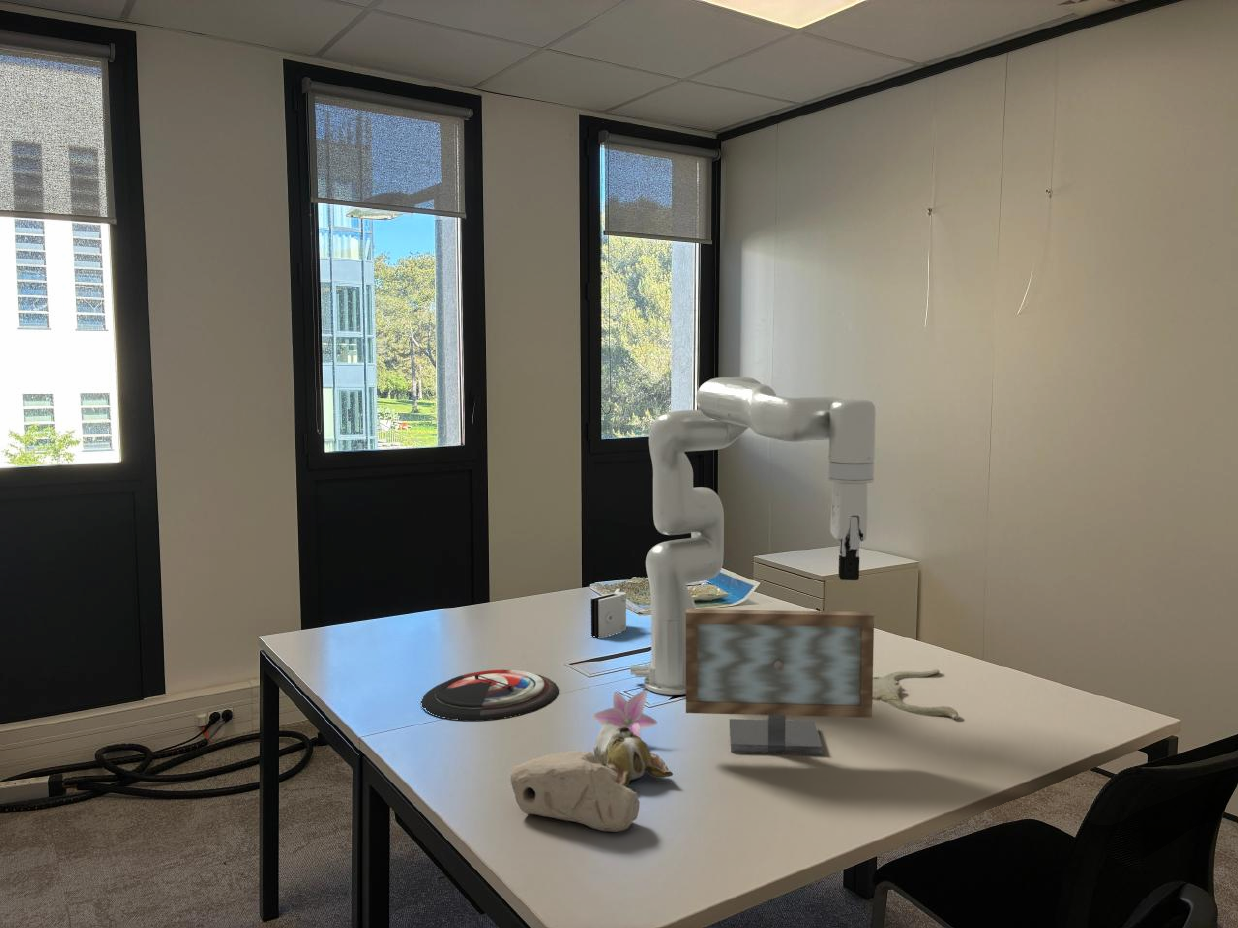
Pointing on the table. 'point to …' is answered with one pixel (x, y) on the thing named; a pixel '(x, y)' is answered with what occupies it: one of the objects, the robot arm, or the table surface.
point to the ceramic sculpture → (627, 754)
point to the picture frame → (779, 662)
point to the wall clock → (490, 695)
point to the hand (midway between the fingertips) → (848, 578)
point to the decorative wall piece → (889, 690)
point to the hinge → (608, 614)
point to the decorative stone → (574, 791)
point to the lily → (627, 713)
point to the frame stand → (775, 736)
